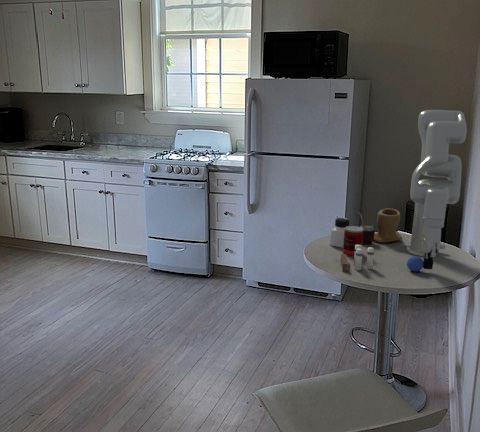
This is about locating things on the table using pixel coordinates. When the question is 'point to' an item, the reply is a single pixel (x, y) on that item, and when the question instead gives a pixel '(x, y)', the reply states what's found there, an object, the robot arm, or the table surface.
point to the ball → (415, 263)
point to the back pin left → (358, 259)
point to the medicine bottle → (338, 232)
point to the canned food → (352, 239)
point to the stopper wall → (344, 262)
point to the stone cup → (387, 225)
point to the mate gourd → (367, 233)
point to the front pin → (370, 258)
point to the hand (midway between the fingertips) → (427, 268)
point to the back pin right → (355, 251)
